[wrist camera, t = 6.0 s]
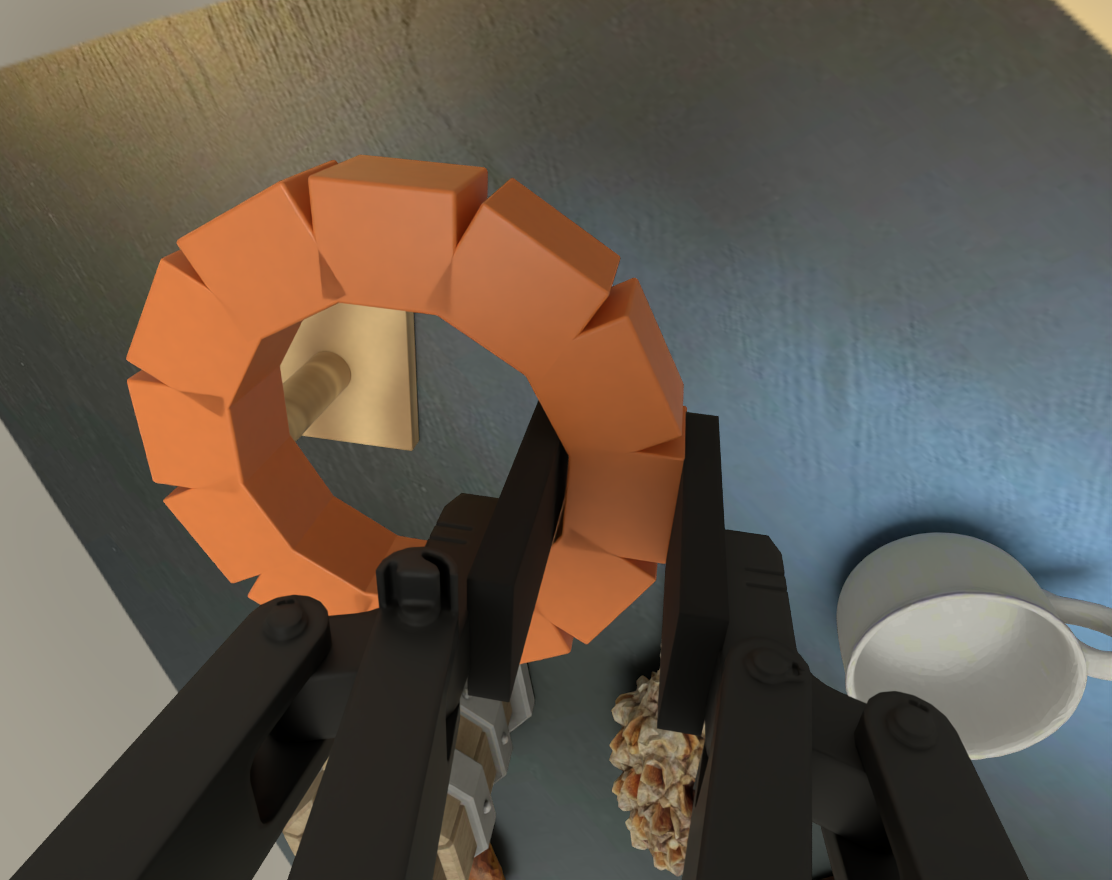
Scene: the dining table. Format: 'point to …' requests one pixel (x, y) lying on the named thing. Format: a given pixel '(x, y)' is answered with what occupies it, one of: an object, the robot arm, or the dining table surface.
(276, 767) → the robot arm
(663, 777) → the pine cone
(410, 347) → the rack
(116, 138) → the dining table surface
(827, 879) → the flowerpot
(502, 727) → the tankard
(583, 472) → the ring
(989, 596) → the teacup
